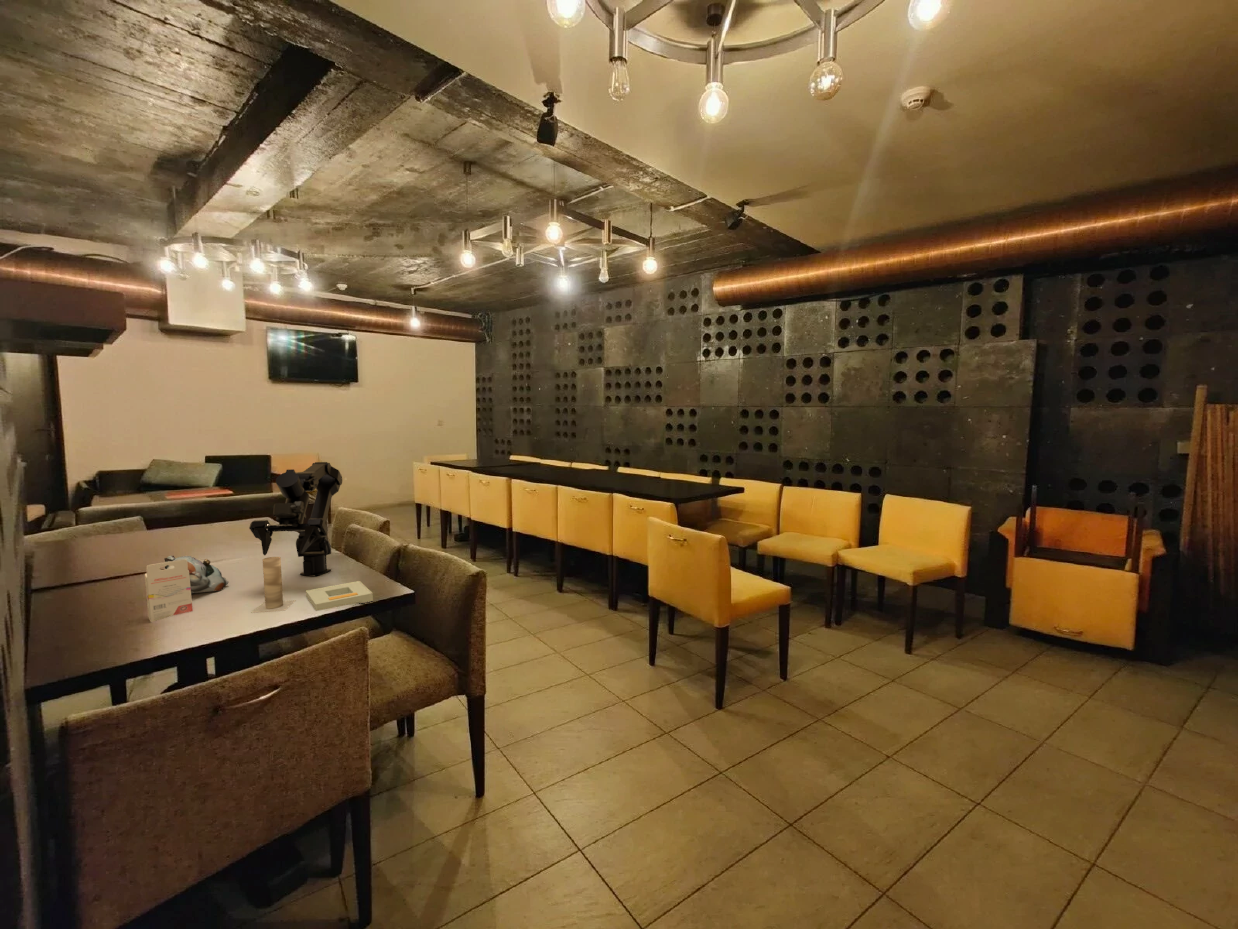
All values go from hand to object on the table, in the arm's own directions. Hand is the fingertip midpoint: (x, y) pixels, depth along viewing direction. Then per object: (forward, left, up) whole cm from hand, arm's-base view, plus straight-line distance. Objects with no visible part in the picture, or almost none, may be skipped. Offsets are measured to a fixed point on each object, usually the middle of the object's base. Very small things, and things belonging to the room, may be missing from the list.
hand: (282, 553), depth 149 cm
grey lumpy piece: (0, -30, -13) cm, 33 cm away
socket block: (-3, +15, -13) cm, 20 cm away
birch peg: (+7, +3, -12) cm, 14 cm away
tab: (+7, +3, -13) cm, 15 cm away
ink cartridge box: (+17, -19, -13) cm, 29 cm away
